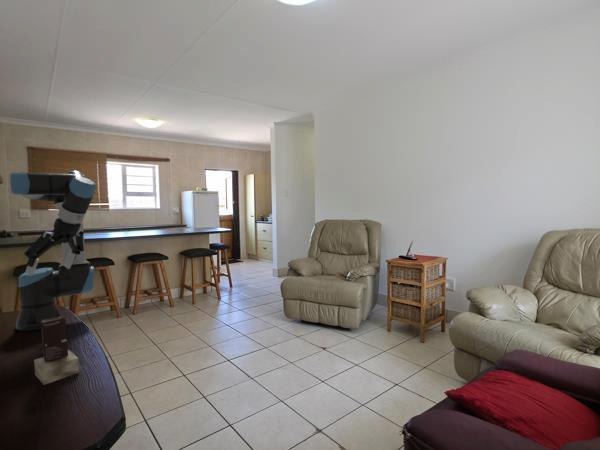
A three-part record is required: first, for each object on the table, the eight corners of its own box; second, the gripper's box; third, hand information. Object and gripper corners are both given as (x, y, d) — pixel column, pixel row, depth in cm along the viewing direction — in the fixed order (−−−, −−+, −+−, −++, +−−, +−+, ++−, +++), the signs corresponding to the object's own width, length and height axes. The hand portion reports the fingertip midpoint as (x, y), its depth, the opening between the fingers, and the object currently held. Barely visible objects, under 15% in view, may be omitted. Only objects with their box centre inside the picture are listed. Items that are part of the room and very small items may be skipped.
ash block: (69, 364, 110) (68, 349, 109) (79, 373, 104) (78, 357, 104) (35, 375, 103) (34, 359, 102) (43, 385, 97) (42, 369, 97)
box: (45, 362, 100) (41, 322, 99) (43, 358, 103) (40, 320, 103) (69, 356, 104) (65, 317, 103) (67, 352, 107) (63, 315, 107)
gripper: (40, 226, 105) (18, 282, 109) (106, 223, 129) (86, 269, 133) (25, 214, 106) (3, 270, 110) (92, 213, 130) (73, 259, 134)
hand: (48, 270), depth 121 cm, fingers open, 13 cm apart
